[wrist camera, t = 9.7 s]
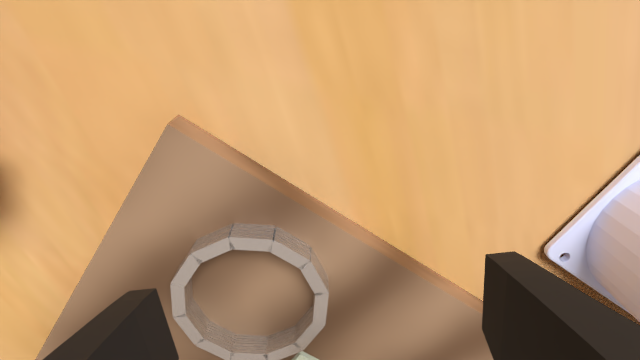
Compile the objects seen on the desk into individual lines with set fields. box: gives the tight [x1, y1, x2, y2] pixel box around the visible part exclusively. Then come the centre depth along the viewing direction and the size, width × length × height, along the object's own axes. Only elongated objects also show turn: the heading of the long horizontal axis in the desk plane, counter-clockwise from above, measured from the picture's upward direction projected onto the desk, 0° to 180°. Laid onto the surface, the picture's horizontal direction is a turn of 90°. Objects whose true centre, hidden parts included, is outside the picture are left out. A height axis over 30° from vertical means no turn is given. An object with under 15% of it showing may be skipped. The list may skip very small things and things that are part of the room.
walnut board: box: [35, 115, 494, 360], centre depth 22 cm, size 22×16×2 cm
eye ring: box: [170, 223, 329, 360], centre depth 19 cm, size 7×7×1 cm
